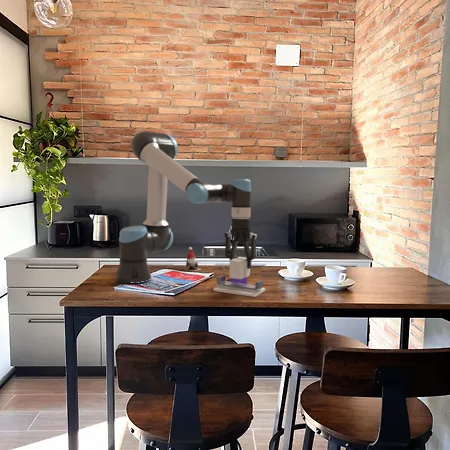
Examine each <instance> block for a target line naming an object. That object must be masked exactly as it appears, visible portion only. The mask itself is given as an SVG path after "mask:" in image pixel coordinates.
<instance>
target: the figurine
mask: <svg viewBox="0 0 450 450" xmlns="http://www.w3.org/2000/svg"><path fill="white" fill-rule="evenodd" d="M185 266H186V268H188V269H187V270H185V271H186V272H198V271H199V272H200V271H201V270H202V269H201V268H199V267H198V266H199V261H198V259H197V258H196V256H195V253H194V251H193V247H191V246H189V247H188V253H187V256H186V263H185Z"/></svg>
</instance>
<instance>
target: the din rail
mask: <svg viewBox="0 0 450 450" xmlns="http://www.w3.org/2000/svg"><path fill="white" fill-rule="evenodd" d="M216 284H217V287H219V288H226V289H233V290H240V291H247V292H254V293H257V292H258V291H260V290H262V288H264V280H263V279H259V280H257V281H255V284H252V283H247V284H246V283H238V282H231V281H230V280H226V275H222V274H221V275H218V276H217V277H216Z"/></svg>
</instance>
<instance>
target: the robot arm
mask: <svg viewBox="0 0 450 450" xmlns="http://www.w3.org/2000/svg"><path fill="white" fill-rule="evenodd" d="M130 148H131V151H132V153H133V155H134V156H135V157H136V158H137V159H138V160H139V161H141V162H142V163H143V164H146V165H147V166H148V180H147V181H148V184H147V205H146V219H145V220H144V221H143V222H142V224H143V225H130V226H126V227H123V228H122V229H120V231H119V238H118V242H119V244H118V245H119V265H118V267H117V271H116V274H115V282H116V283H119V284H124V283H131V282H141V281H146V280H149V279H151V280H152V274H151V272H150V269H149V265H148V255H149V254H155V253H161V252H164V251H167V250H168V249H169V248H170V247H172V245H173V242H174V233H173V232H172V229H171V228H170V227H169V222H168V221H167V220H166V219H167V200H168V199H167V197H168V180H169V181H170V182H171V183H172V184H173V185H175V186H176V187H177V188H178V189H180V190H182V191H183V192H184V193H185V197H186V198H187V199H186V200H187V201H188V202H190V203H192V204H196V205H200V204H201V205H202V204H209V203H210V204H211V203H230V204H231V217H232V218H231V222H230V223H231V229H230V231H227V232H224V238H225V248H224V249H225V251H224V253H225V254H224V257H226V258H228V259H229V261H230V260H232V259H234V258H236V253H237V248H238V245H239V242H242V246H243V250H244V253H245V258H246V259H247V260H246V261H245V277H247V278H248V277H249V276H250V275H249V269H250V270H251V269H252V261H253V260H255V259H257V239H258V234H256V233H253V232H252V231H251V219H250V218H251V211H252V209H251V208H252V207H251V201H252V200H251V199H252V198H251V197H252V182H251V180H250V179H249V178H233V179H232V180H231V183H217V182H215V183H206V182H203V180H201V179H199V178H198V177H197V176H196V175H194V174H193V173H191V172H190V171H189V170H188V169H186V168H185V167H183V165H181V164H180V163H179V162H178V161H176V160H175V158H176V156H178V155H177V154H178V151H179V148H178V143H177V140H176V139H175V138H174V137H173V136H172V135H170V134H168V133H163V132H154V131H147V130H145V131H144V130H141V131H140V132H137V133H135V135H134V136H133V137H132V140H131V142H130ZM232 238H233V239H232ZM249 238H250V243H249Z"/></svg>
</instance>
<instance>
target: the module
mask: <svg viewBox="0 0 450 450" xmlns="http://www.w3.org/2000/svg"><path fill="white" fill-rule="evenodd" d="M246 260H247V259H246V256H245V257H243V256H238V257H235V258H234V259H232V260H230V259H229V279H230V278H235V279H243V278H245V261H246ZM250 275H251V268H250V269H249V276H250Z"/></svg>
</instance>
